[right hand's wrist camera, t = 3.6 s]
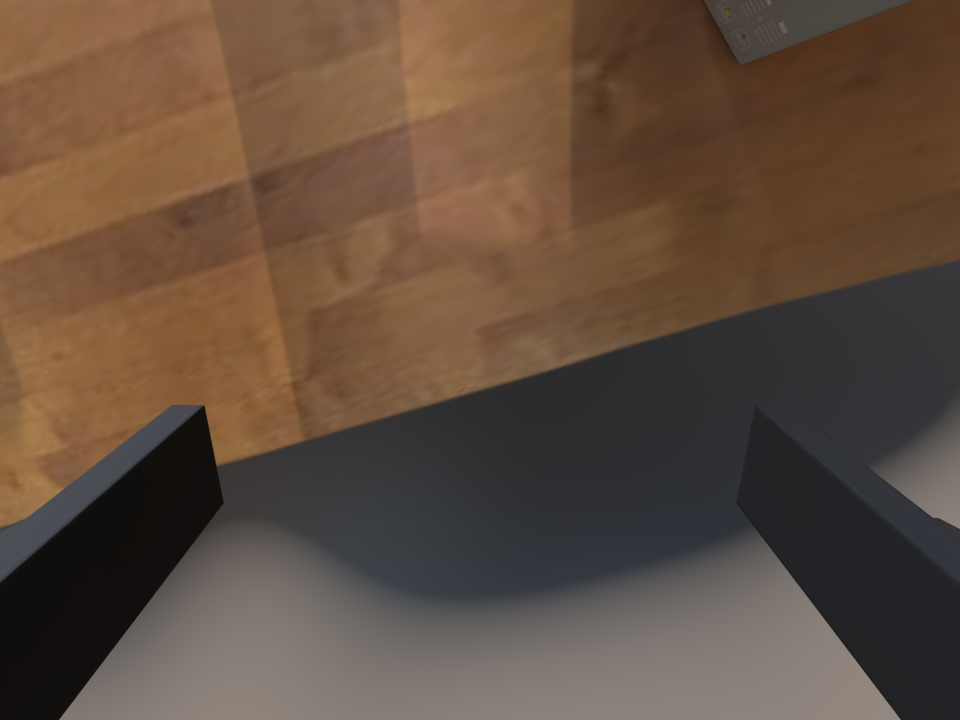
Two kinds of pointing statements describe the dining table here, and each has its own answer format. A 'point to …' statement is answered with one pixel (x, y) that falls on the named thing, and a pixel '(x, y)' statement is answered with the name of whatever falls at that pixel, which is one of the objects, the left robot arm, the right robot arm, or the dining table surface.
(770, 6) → the hard drive box
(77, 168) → the dining table surface
